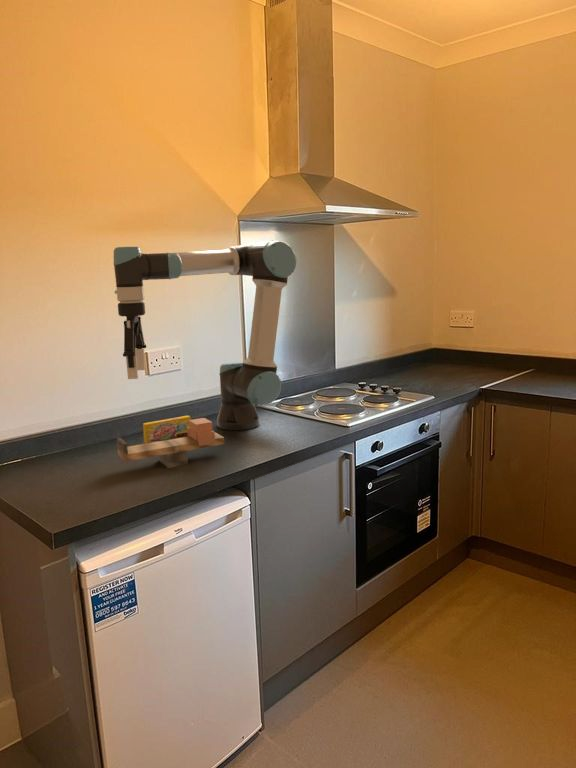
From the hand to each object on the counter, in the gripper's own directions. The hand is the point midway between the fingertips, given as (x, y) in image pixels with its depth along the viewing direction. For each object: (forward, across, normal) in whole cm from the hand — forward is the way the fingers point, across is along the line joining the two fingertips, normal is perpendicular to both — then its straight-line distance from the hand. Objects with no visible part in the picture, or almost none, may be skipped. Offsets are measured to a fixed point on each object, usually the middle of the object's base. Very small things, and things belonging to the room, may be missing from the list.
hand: (137, 374), depth 175 cm
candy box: (+26, -13, +6) cm, 30 cm away
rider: (+21, +3, +18) cm, 27 cm away
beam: (+26, +7, +10) cm, 28 cm away
